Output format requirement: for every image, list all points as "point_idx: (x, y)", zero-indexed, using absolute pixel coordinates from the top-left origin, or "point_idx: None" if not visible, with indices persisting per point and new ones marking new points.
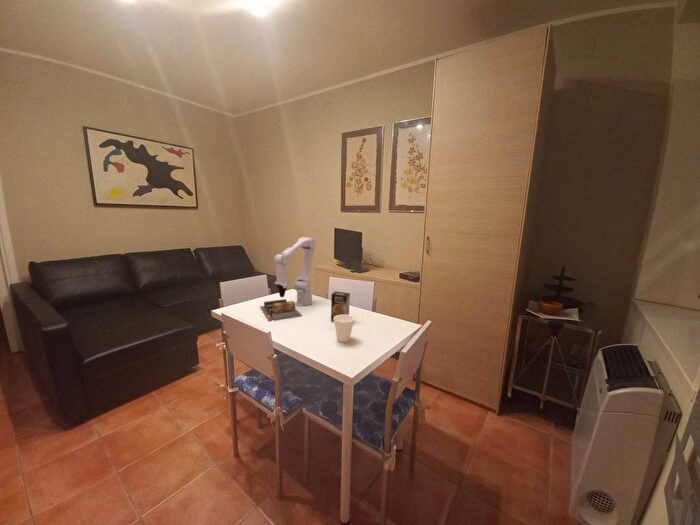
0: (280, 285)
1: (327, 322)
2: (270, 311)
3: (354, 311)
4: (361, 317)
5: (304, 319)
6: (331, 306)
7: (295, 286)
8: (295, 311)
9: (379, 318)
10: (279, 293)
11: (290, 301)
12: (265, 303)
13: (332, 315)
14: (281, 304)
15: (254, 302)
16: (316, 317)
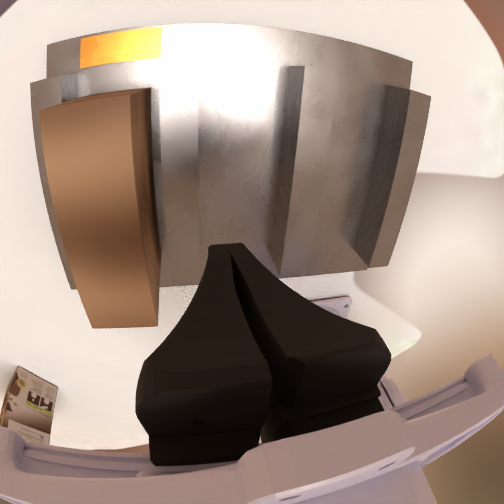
0: (284, 421)
1: (8, 353)
2: (161, 66)
3: (120, 434)
4: (64, 428)
5: (35, 286)
6: (2, 426)
7: (383, 398)
8: (67, 276)
9: (58, 443)
10: (243, 267)
11: (144, 305)
12: (404, 96)
13: (9, 391)
14: (59, 202)
15: (486, 83)
16: (61, 341)
